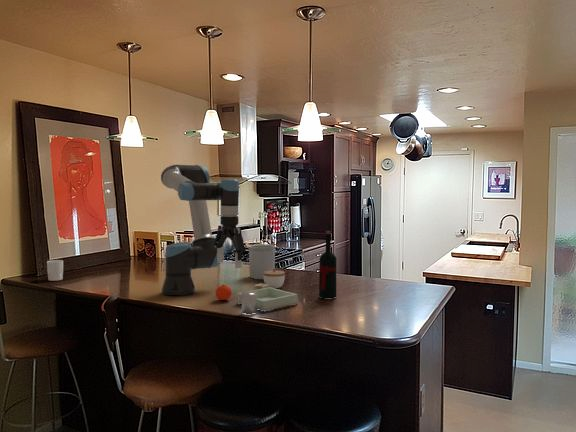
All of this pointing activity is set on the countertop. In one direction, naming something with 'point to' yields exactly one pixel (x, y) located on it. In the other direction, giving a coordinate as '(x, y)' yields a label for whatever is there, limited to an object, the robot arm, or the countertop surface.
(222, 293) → the clementine
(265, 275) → the lidded jar
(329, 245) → the wine bottle
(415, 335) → the countertop surface
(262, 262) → the utensil holder
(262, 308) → the sage tray
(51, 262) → the white cup
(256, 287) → the wood block
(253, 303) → the metal can
